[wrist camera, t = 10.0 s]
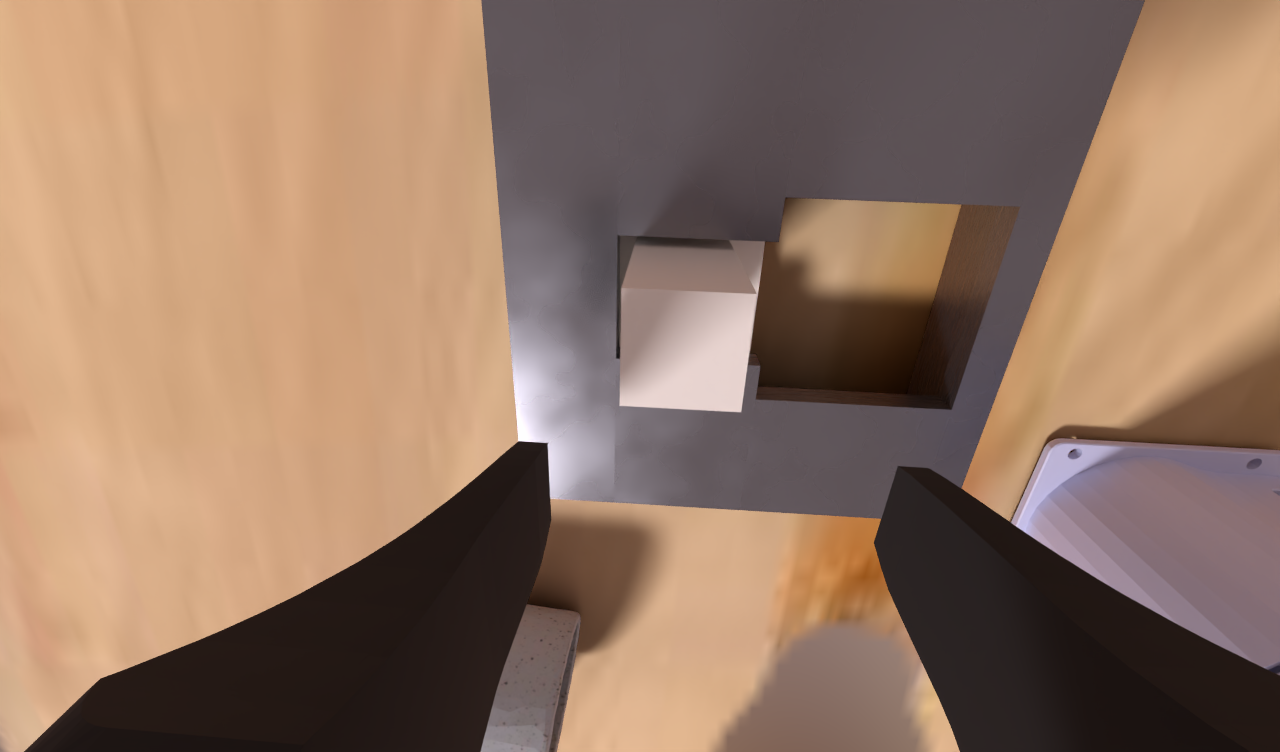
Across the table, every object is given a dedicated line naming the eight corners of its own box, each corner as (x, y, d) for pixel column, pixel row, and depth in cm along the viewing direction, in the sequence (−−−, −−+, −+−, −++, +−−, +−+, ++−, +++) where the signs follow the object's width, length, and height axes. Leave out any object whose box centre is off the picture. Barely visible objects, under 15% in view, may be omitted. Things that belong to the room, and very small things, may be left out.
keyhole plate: (1048, 26, 15) (1144, 0, 12) (909, 467, 22) (948, 522, 19) (517, 11, 16) (479, -17, 13) (543, 446, 23) (523, 496, 20)
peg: (763, 193, 18) (825, 238, 11) (744, 340, 20) (784, 457, 13) (605, 187, 18) (563, 227, 11) (605, 333, 21) (570, 445, 13)
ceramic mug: (426, 557, 26) (340, 713, 20) (585, 578, 26) (554, 741, 20) (439, 685, 31) (373, 845, 24) (573, 702, 31) (545, 867, 24)
